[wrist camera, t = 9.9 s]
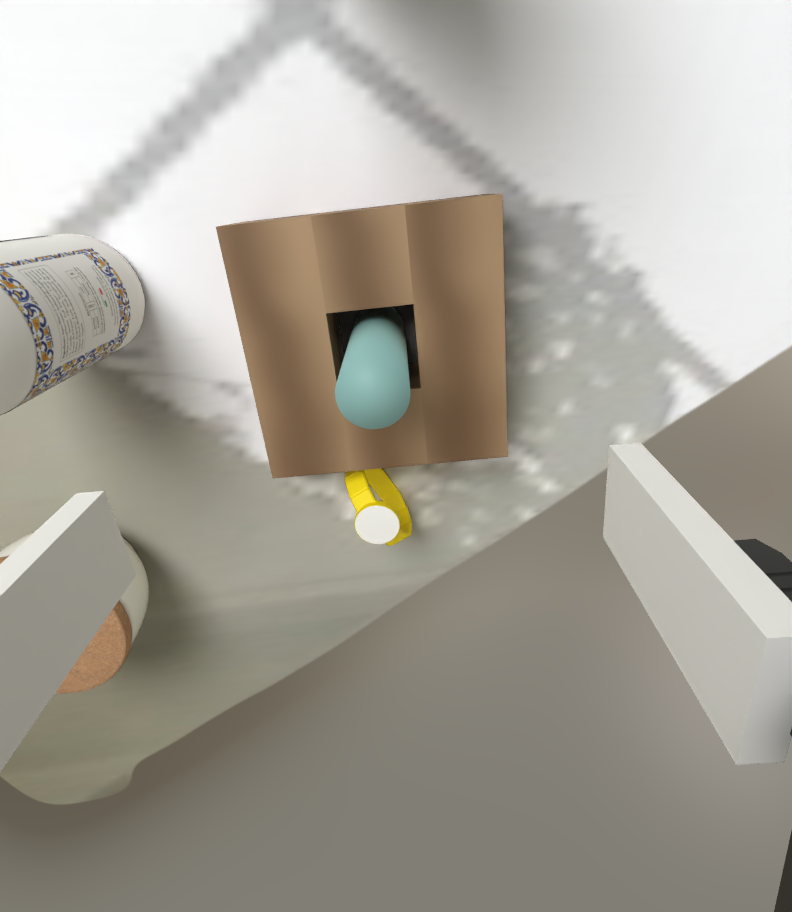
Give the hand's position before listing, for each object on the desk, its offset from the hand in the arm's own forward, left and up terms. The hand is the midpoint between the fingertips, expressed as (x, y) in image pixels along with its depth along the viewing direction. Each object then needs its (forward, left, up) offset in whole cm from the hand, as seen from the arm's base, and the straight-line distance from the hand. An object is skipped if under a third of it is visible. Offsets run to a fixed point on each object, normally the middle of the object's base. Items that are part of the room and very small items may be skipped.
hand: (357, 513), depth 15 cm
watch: (+1, +11, -22) cm, 25 cm away
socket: (0, 0, -22) cm, 22 cm away
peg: (0, 0, -22) cm, 22 cm away
